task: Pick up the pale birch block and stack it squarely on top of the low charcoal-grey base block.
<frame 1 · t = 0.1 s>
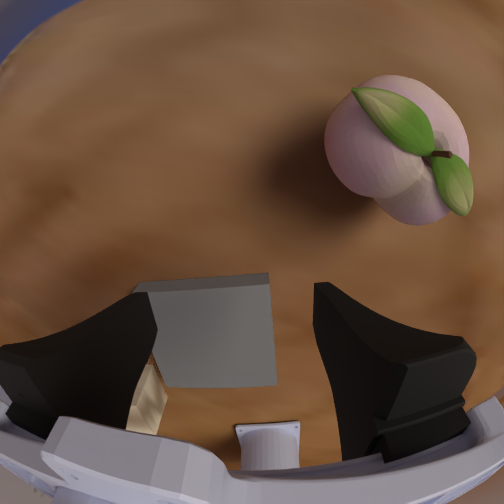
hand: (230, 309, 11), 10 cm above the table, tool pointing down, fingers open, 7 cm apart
decorative fruit: (369, 144, 18), on the table
charcoal base: (212, 328, 25), on the table
birch cube: (139, 380, 27), on the table
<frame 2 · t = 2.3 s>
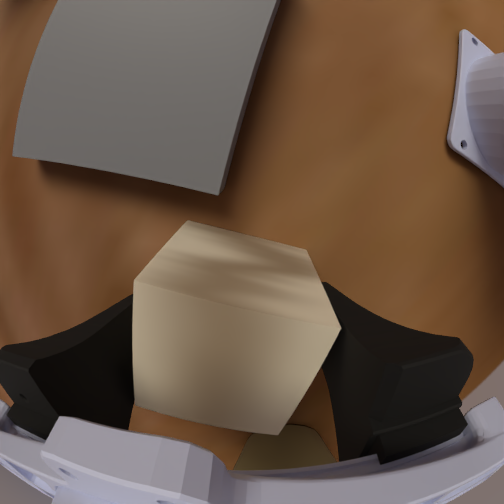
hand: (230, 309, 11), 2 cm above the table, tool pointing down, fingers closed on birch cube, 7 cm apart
squeeze bottle: (283, 438, 18), on the table
charcoal base: (144, 56, 10), on the table
birch cube: (233, 288, 13), on the table, touching gripper
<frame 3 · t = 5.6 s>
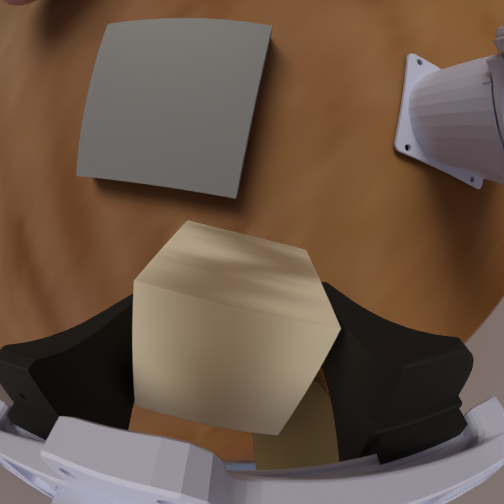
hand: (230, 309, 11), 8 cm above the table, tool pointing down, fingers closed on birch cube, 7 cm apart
squeeze bottle: (293, 393, 24), on the table
charcoal base: (173, 101, 16), on the table
birch cube: (233, 288, 13), point 6 cm above the table, touching gripper
when the fingers open (6 cm above the table, at t = 9.1 s): birch cube drops 2 cm, resting on charcoal base.
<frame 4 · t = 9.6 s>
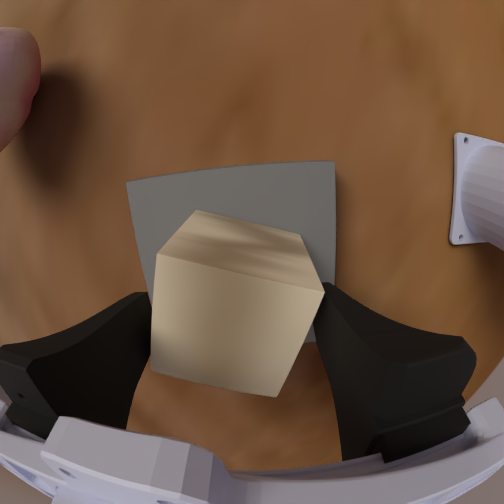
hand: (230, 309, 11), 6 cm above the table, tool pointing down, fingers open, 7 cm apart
decorative fruit: (30, 96, 13), on the table
charcoal base: (238, 253, 18), on the table, touching birch cube
birch cube: (236, 269, 15), point 2 cm above the table, touching charcoal base
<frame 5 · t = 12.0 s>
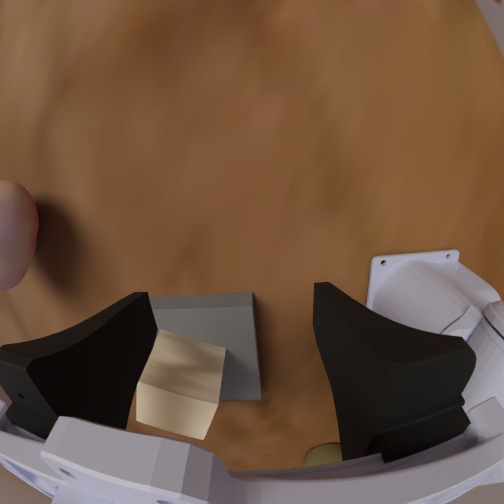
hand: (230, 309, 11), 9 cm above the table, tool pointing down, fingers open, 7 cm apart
decorative fruit: (32, 216, 20), on the table
squeeze bottle: (324, 450, 32), on the table
charcoal base: (198, 343, 24), on the table, touching birch cube
birch cube: (187, 361, 22), point 2 cm above the table, touching charcoal base
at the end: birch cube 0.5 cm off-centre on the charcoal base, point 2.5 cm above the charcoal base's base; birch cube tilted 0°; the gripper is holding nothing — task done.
